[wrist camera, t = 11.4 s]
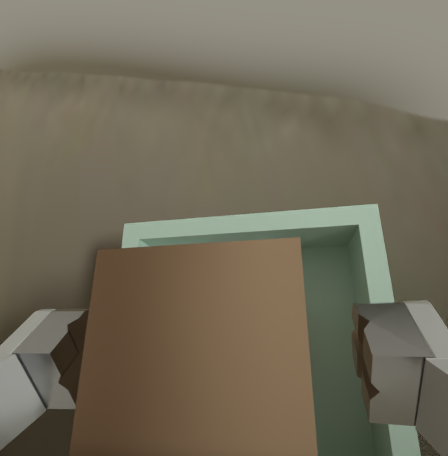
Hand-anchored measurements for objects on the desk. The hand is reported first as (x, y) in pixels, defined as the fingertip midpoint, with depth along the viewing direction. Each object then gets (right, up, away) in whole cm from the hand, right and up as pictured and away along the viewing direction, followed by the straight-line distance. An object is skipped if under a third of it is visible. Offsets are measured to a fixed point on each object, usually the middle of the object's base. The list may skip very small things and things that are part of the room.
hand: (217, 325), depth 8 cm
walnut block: (+2, -3, +6) cm, 7 cm away
